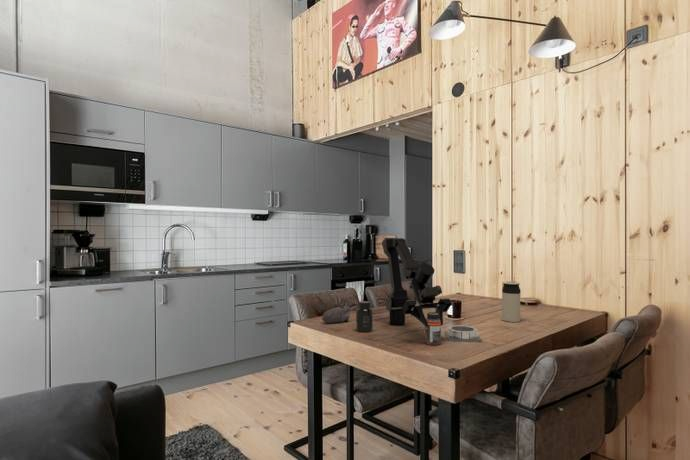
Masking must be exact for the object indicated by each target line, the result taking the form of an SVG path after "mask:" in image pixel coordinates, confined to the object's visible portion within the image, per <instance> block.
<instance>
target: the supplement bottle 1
mask: <svg viewBox="0 0 690 460" xmlns="http://www.w3.org/2000/svg"><path fill="white" fill-rule="evenodd" d="M355 312H356V313H355V314H356V316H355V317H356V323H355V324H356V326H355V327H356V328H355V329H356V331H357V332H359V333H370V332H372V331H373V325H374V324H373V323H374V322H373V321H374V319H373V318H374V317H373V313H374V312H373V309H372V308H371V301H368V300H367V301H365V300H361V301H359V302H358V308H357V309H356V311H355Z"/></svg>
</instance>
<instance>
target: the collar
mask: <svg viewBox="0 0 690 460" xmlns="http://www.w3.org/2000/svg"><path fill="white" fill-rule="evenodd" d="M444 334H445V336H446V337H447V339H448V340H449V342H470V343H471V342H472V343H473V342H476V343H482V342H483V339H482V338H481V337H480V336H479V330H478V328H476V327H474V326H470V325H469V326H468V325H459V324H458V325H450V326H447V330H445V331H444Z"/></svg>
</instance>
